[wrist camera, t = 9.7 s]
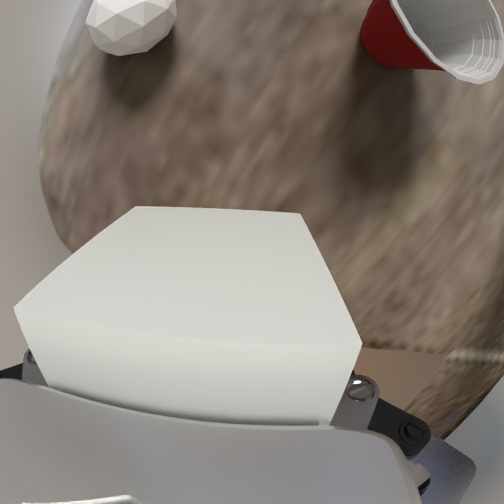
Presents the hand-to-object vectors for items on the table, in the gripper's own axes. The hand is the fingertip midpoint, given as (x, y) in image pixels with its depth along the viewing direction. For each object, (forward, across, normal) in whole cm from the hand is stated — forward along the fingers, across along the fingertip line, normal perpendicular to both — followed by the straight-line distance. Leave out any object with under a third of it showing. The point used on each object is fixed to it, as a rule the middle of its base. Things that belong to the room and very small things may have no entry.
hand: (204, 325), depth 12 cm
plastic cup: (+17, -14, -19) cm, 29 cm away
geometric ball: (+17, +9, -18) cm, 27 cm away
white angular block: (+3, 0, 0) cm, 3 cm away
